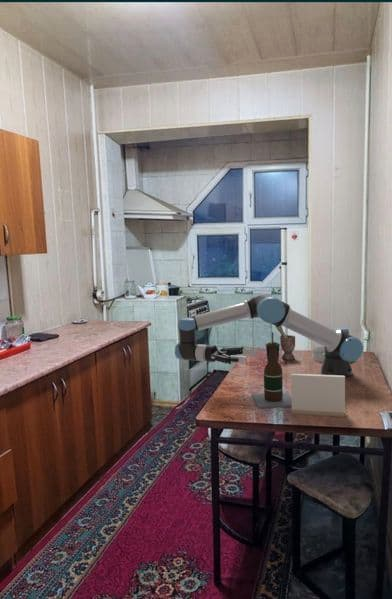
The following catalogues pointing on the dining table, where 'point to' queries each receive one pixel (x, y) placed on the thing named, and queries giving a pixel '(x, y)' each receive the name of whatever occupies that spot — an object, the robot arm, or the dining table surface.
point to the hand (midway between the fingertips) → (251, 356)
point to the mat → (264, 403)
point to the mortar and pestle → (287, 344)
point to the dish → (319, 354)
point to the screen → (318, 394)
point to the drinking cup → (268, 348)
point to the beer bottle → (273, 376)
